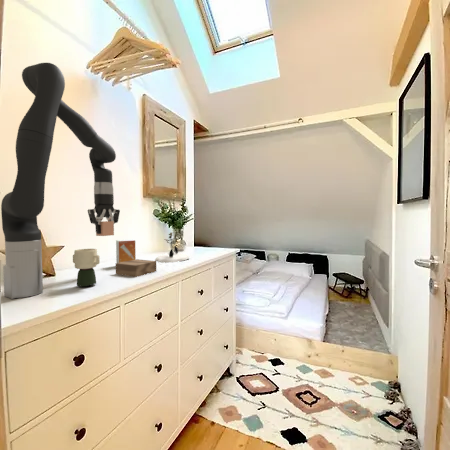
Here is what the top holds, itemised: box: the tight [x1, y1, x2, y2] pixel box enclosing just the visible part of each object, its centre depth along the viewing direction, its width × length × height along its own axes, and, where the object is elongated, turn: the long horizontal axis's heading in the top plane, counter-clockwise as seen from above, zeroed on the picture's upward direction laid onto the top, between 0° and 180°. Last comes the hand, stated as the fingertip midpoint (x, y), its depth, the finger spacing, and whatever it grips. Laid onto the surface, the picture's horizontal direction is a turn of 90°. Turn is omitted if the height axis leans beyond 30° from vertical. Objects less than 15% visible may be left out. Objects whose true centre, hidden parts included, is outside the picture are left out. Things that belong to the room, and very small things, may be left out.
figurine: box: [154, 232, 190, 263], centre depth 150 cm, size 20×18×16 cm
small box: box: [115, 239, 137, 263], centre depth 132 cm, size 8×6×13 cm
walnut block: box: [115, 258, 157, 278], centre depth 115 cm, size 12×12×5 cm
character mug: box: [72, 248, 101, 287], centre depth 93 cm, size 11×7×13 cm, turn 77°
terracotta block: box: [95, 220, 115, 237], centre depth 112 cm, size 5×5×6 cm
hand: (105, 233), depth 113 cm, fingers closed on terracotta block, 5 cm apart
